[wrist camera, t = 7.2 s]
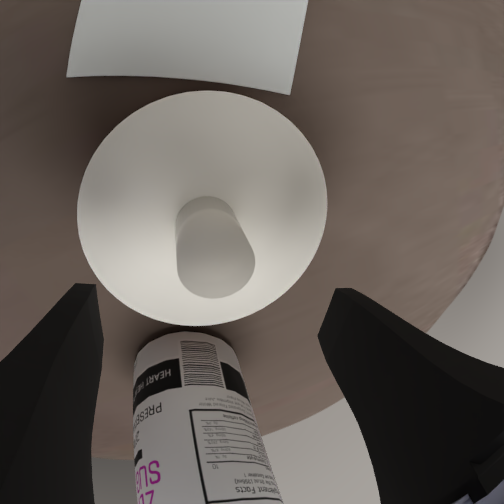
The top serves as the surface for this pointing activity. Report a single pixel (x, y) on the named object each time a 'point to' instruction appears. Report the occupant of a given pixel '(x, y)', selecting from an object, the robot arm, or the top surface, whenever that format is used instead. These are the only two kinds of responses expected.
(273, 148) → the lid
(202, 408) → the supplement can
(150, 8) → the mat
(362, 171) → the top surface
